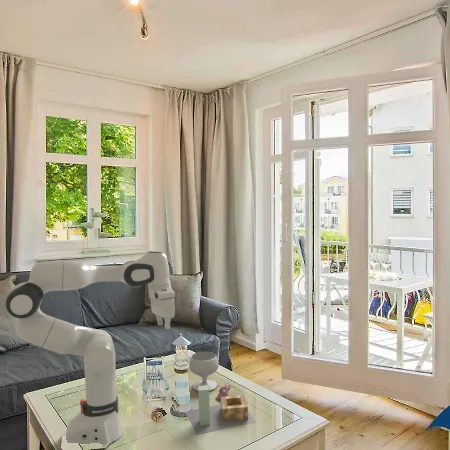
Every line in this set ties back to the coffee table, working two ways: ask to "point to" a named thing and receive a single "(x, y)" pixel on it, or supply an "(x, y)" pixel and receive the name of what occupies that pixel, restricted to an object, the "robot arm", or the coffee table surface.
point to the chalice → (204, 368)
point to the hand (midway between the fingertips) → (164, 326)
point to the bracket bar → (204, 405)
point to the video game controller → (223, 391)
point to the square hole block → (234, 408)
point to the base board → (215, 421)
